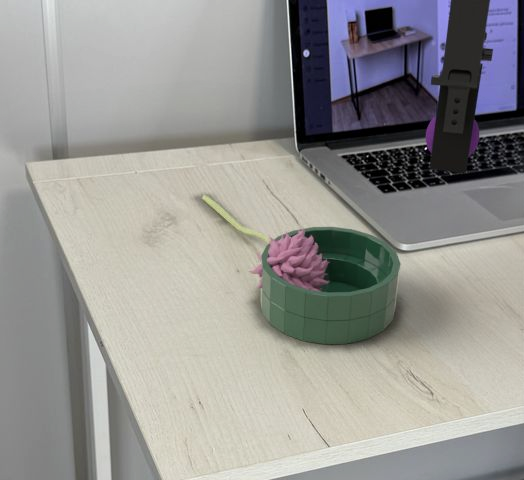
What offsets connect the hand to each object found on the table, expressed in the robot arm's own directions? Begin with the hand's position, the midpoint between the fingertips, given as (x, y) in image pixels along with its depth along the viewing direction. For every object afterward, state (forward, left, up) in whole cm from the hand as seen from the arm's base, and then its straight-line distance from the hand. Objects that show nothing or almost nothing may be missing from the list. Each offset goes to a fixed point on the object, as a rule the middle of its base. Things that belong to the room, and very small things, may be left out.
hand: (450, 156), depth 68 cm
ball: (0, 0, +2) cm, 2 cm away
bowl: (+8, +4, -13) cm, 16 cm away
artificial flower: (+17, -3, -13) cm, 22 cm away
